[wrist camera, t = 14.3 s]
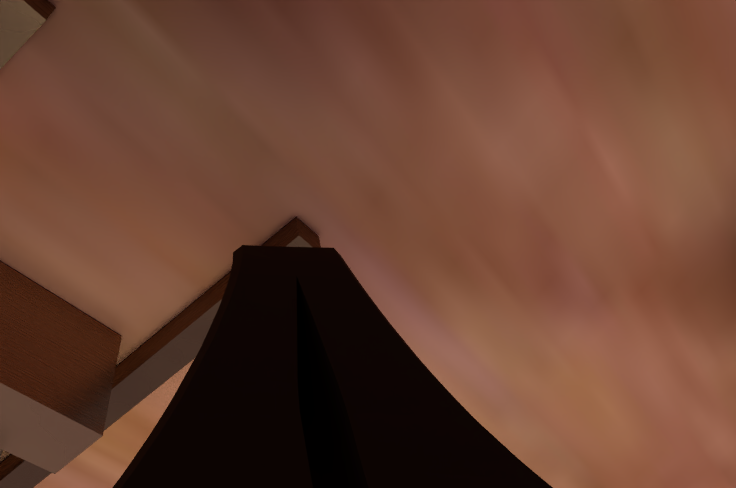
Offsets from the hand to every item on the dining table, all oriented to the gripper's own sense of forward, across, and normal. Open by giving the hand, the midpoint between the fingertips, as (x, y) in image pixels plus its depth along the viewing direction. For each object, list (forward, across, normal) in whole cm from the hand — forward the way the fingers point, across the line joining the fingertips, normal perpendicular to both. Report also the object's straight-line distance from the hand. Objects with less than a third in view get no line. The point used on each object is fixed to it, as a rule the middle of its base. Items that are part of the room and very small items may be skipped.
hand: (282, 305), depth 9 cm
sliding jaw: (+10, +7, +8) cm, 14 cm away
